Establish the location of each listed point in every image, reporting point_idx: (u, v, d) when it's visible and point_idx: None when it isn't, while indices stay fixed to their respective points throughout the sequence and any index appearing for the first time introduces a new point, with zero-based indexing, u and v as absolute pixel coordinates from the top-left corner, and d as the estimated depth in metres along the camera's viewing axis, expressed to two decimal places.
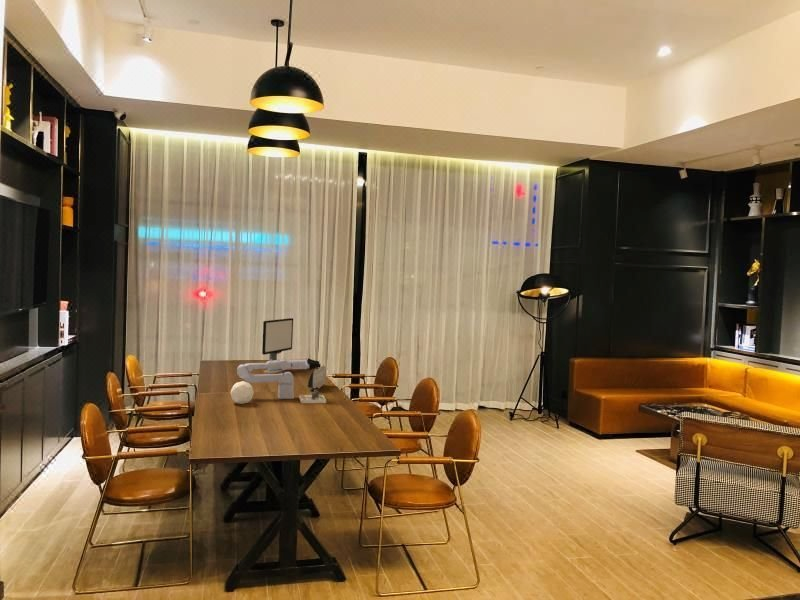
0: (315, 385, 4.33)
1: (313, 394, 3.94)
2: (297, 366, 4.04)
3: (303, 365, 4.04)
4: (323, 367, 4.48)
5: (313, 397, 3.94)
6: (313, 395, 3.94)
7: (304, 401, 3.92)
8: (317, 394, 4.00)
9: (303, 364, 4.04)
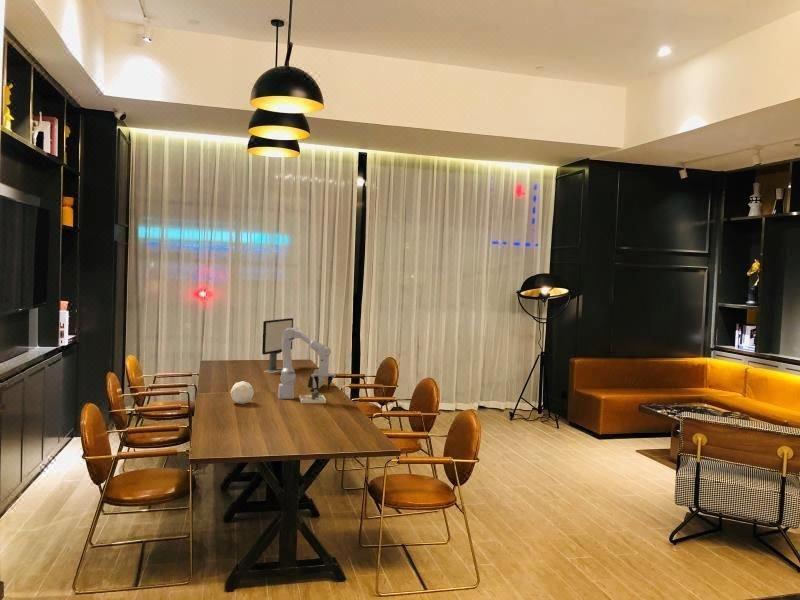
0: (315, 385, 4.33)
1: (313, 394, 3.94)
2: (320, 366, 3.94)
3: None
4: None
5: (313, 397, 3.94)
6: (313, 395, 3.94)
7: (304, 401, 3.92)
8: (317, 394, 4.00)
9: (319, 371, 3.95)
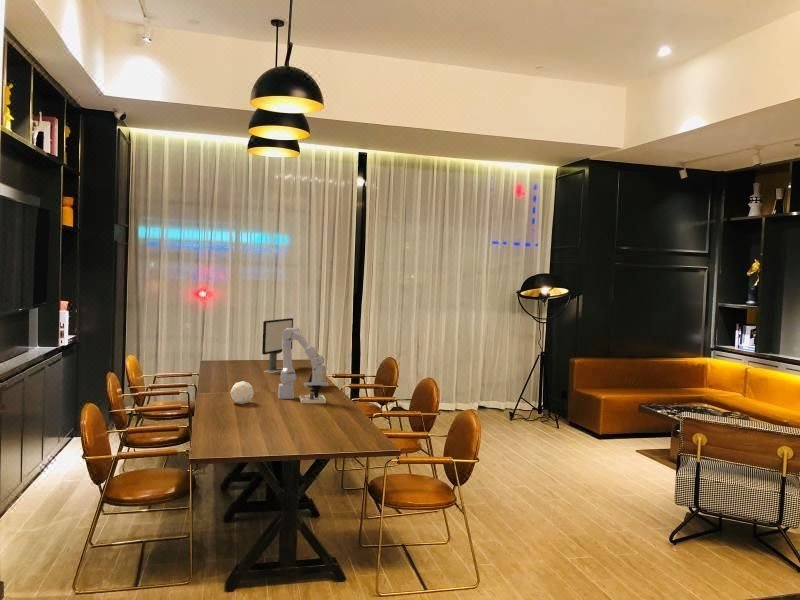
0: None
1: (311, 394, 3.94)
2: (313, 375, 3.93)
3: None
4: (323, 367, 4.48)
5: (311, 397, 3.94)
6: (311, 395, 3.94)
7: (304, 401, 3.92)
8: None
9: (312, 380, 3.94)
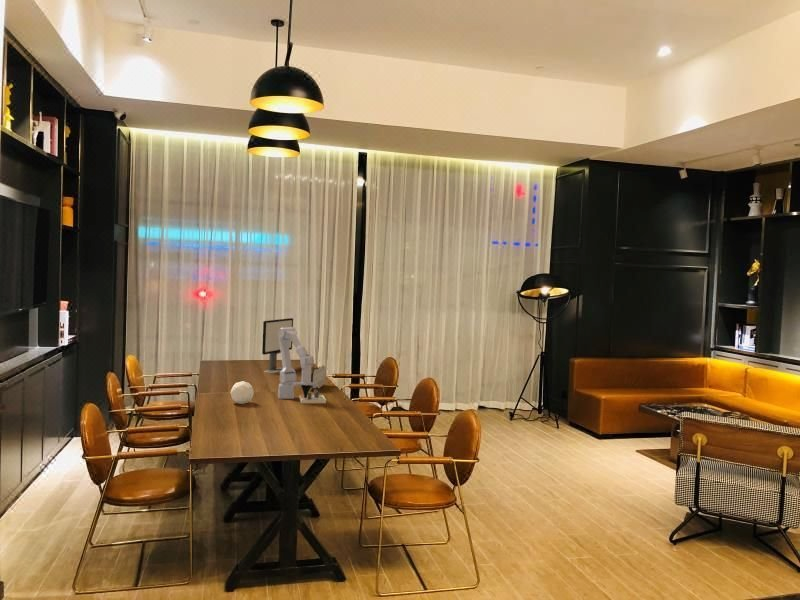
0: None
1: (309, 394, 3.93)
2: (302, 374, 3.92)
3: (301, 380, 3.93)
4: (323, 367, 4.48)
5: (309, 397, 3.94)
6: (309, 395, 3.93)
7: (304, 401, 3.92)
8: (317, 394, 4.00)
9: (301, 380, 3.92)
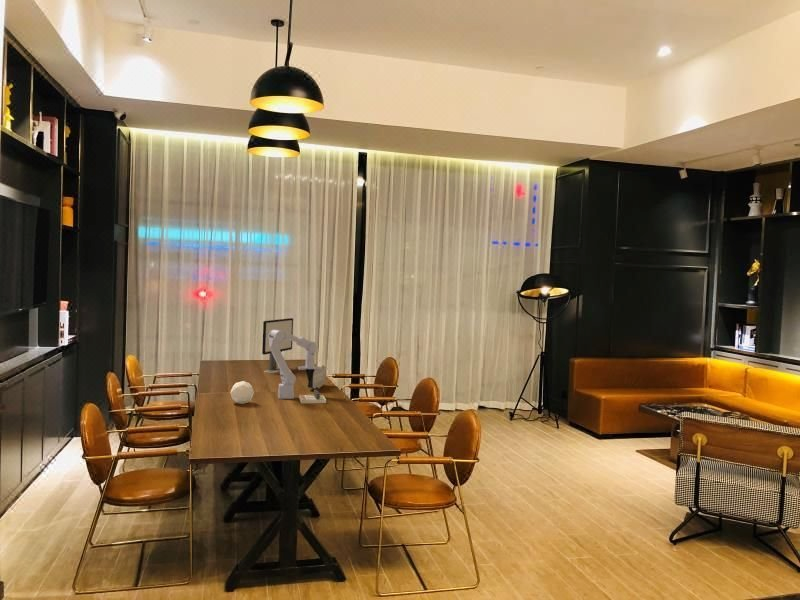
0: (315, 385, 4.33)
1: (317, 394, 3.95)
2: (311, 359, 4.11)
3: None
4: (323, 367, 4.48)
5: (317, 397, 3.95)
6: (317, 395, 3.95)
7: (304, 401, 3.92)
8: None
9: None
